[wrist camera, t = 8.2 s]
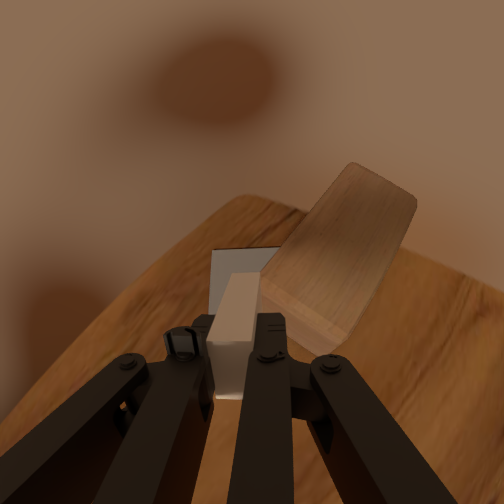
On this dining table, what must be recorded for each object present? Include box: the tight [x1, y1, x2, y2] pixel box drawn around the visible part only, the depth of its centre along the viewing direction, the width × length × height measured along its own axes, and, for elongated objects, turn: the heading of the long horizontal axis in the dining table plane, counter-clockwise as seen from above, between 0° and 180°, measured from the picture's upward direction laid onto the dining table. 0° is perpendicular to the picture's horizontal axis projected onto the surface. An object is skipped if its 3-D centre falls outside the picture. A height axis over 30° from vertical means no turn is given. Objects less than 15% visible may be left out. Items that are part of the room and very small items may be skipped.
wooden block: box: [260, 162, 417, 356], centre depth 32 cm, size 10×10×20 cm
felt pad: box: [209, 247, 280, 315], centre depth 36 cm, size 12×10×1 cm
